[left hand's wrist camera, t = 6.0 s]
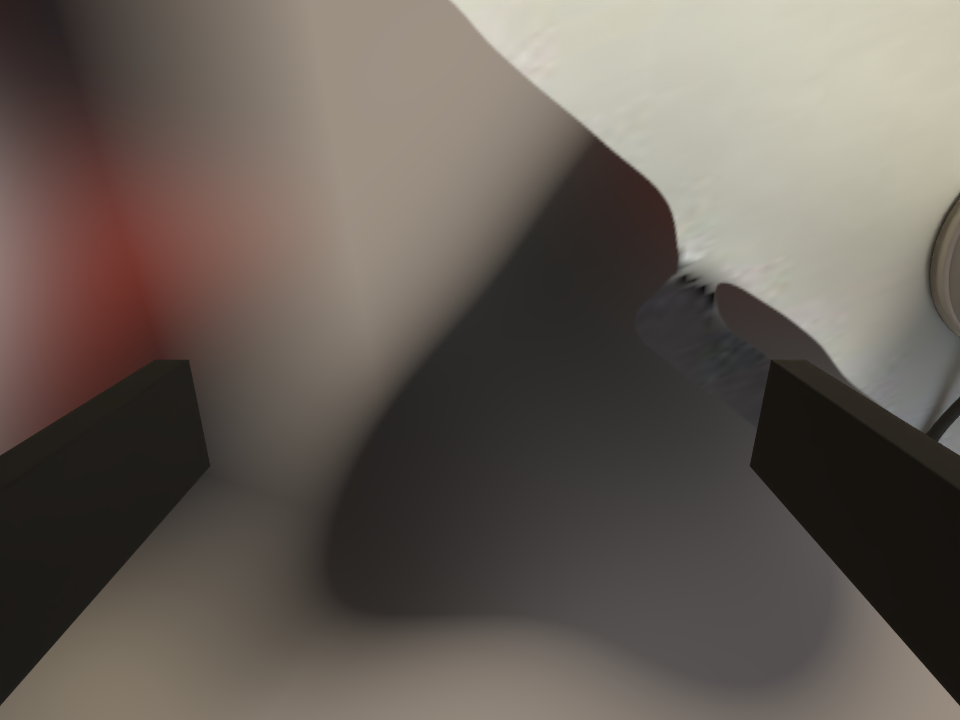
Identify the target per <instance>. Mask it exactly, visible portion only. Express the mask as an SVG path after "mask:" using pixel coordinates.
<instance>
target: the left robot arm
mask: <svg viewBox="0 0 960 720" xmlns="http://www.w3.org/2000/svg"><path fill="white" fill-rule="evenodd" d="M930 285H931V293H932V297H933V301H934V304H935V307H936V309H937V311H938V313H939V315H940V317H941V318H942V320H943V321H944V323H945V324H946V325H947V326H948V327H949V328H950V329H951V330H952V331H953V332H954V333H955V334H956V335H958V336H959V337H960V198H959V200H958V201H957V202H956V204H955V205H954V207H953V208H952V210H951V212H950V213H949V215H948V217H947V218H946V220H945V222H944V224H943V226H942V228H941V231H940V233H939V236H938V238H937V241H936V244H935V247H934V251H933V255H932V260H931V268H930ZM959 416H960V397H959V398H958V399H957V400H956V401H955V402H954V403H953V404H952V405H951V406H950V407H949V408H948V409H947V411H946V412H945V413H944V414H943V415H942V416H941V417H940V418H939V419H938V420H937V422H936V423H935V424H934V425H933V427H932V428H931V429H930V431H929V432H928V433H927V435H926V434H924V433H922V432H921V431H919V430H917V429H916V428H914V427H913V426H911V425H909V424H908V423H906V422H905V421H903V420H901V419H900V418H898V417H897V416H895V415H893V414H892V413H890V412H888V411H887V410H885V409H884V408H882V407H880V406H879V405H877V404H876V403H874V402H872V401H871V400H869V399H868V398H866V397H864V396H863V395H861V394H859V393H858V392H856V391H855V390H853V389H851V388H850V387H848V386H846V385H845V384H843V383H842V382H840V381H838V380H837V379H835V378H834V377H832V376H830V375H829V374H827V373H826V372H824V371H822V370H821V369H819V368H818V367H816V366H814V365H813V364H811V363H809V362H808V361H806V360H771V364H770V369H769V373H768V378H767V383H766V388H765V393H764V398H763V403H762V408H761V413H760V418H759V423H758V428H757V433H756V438H755V443H754V448H753V453H752V458H751V463H750V467H751V468H752V469H753V470H754V471H755V473H756V474H757V475H758V476H759V477H760V478H761V479H762V481H763V482H764V483H765V484H766V485H767V486H768V487H769V489H770V490H771V491H772V492H773V493H774V494H775V495H776V496H777V498H778V499H779V500H780V501H781V502H782V503H783V504H784V506H785V507H786V508H787V509H788V510H789V511H790V512H791V514H792V515H793V516H794V517H795V518H796V519H797V520H798V522H799V523H800V524H801V525H802V526H803V527H804V528H805V530H806V531H807V532H808V533H809V534H810V535H811V536H812V538H813V539H814V540H815V541H816V542H817V543H818V544H819V546H820V547H821V548H822V549H823V550H824V551H825V552H826V554H827V555H828V556H829V557H830V558H831V559H832V560H833V561H834V563H835V564H836V565H837V566H838V567H839V568H840V569H841V571H842V572H843V573H844V574H845V575H846V576H847V577H848V579H849V580H850V581H851V582H852V583H853V584H854V586H855V587H856V588H857V589H858V590H859V591H860V592H861V593H862V595H863V596H864V597H865V598H866V599H867V600H868V601H869V603H870V604H871V605H872V606H873V607H874V608H875V609H876V611H877V612H878V613H879V614H880V615H881V616H882V617H883V619H884V620H885V621H886V622H887V623H888V624H889V625H890V627H891V628H892V629H893V630H894V631H895V632H896V633H897V635H898V636H899V637H900V638H901V639H902V640H903V641H904V643H905V644H906V645H907V646H908V647H909V648H910V649H911V651H912V652H913V653H914V654H915V655H916V656H917V657H918V659H919V660H920V661H921V662H922V663H923V664H924V665H925V666H926V668H927V669H928V670H929V671H930V672H931V673H932V675H933V676H934V677H935V678H936V679H937V680H938V681H939V683H940V684H941V685H942V686H943V687H944V688H945V689H946V690H947V692H948V693H949V694H950V695H951V696H952V697H953V698H954V700H955V701H956V702H957V703H958V704H959V705H960V456H959V455H958V454H956V453H955V452H953V451H951V450H950V449H948V448H947V447H945V446H943V445H942V444H940V443H938V441H939V439H940V438H941V436H942V435H943V434H944V432H945V431H946V430H947V429H948V427H949V426H950V425H951V424H952V423H953V422H954V421H955V420H956V419H957V418H958V417H959ZM209 467H210V463H209V458H208V453H207V448H206V443H205V438H204V433H203V428H202V423H201V418H200V413H199V408H198V404H197V398H196V393H195V389H194V383H193V378H192V373H191V369H190V364H189V360H154V361H152V362H151V363H149V364H147V365H146V366H144V367H142V368H141V369H139V370H138V371H136V372H134V373H133V374H131V375H130V376H128V377H126V378H125V379H123V380H122V381H120V382H118V383H117V384H115V385H114V386H112V387H110V388H109V389H107V390H105V391H104V392H102V393H101V394H99V395H97V396H96V397H94V398H93V399H91V400H89V401H88V402H86V403H84V404H83V405H81V406H80V407H78V408H76V409H75V410H73V411H72V412H70V413H68V414H67V415H65V416H63V417H62V418H60V419H59V420H57V421H55V422H54V423H52V424H51V425H49V426H47V427H46V428H44V429H43V430H41V431H39V432H38V433H36V434H34V435H33V436H31V437H30V438H28V439H26V440H25V441H23V442H22V443H20V444H18V445H17V446H15V447H14V448H12V449H10V450H9V451H7V452H5V453H4V454H2V455H1V456H0V705H1V704H2V703H3V702H4V701H5V700H6V698H7V697H8V696H9V695H10V694H11V693H12V692H13V690H14V689H15V688H16V687H17V686H18V685H19V684H20V683H21V681H22V680H23V679H24V678H25V677H26V676H27V674H28V673H29V672H30V671H31V670H32V669H33V668H34V667H35V665H36V664H37V663H38V662H39V661H40V660H41V658H42V657H43V656H44V655H45V654H46V653H47V652H48V651H49V649H50V648H51V647H52V646H53V645H54V644H55V643H56V641H57V640H58V639H59V638H60V637H61V636H62V635H63V633H64V632H65V631H66V630H67V629H68V628H69V627H70V625H71V624H72V623H73V622H74V621H75V620H76V619H77V617H78V616H79V615H80V614H81V613H82V612H83V611H84V609H85V608H86V607H87V606H88V605H89V604H90V603H91V601H92V600H93V599H94V598H95V597H96V596H97V595H98V593H99V592H100V591H101V590H102V589H103V588H104V587H105V585H106V584H107V583H108V582H109V581H110V580H111V579H112V577H113V576H114V575H115V574H116V573H117V572H118V571H119V569H120V568H121V567H122V566H123V565H124V564H125V563H126V562H127V560H128V559H129V558H130V557H131V556H132V555H133V554H134V552H135V551H136V550H137V549H138V548H139V547H140V545H141V544H142V543H143V542H144V541H145V540H146V539H147V538H148V536H149V535H150V534H151V533H152V532H153V531H154V530H155V528H156V527H157V526H158V525H159V524H160V523H161V522H162V520H163V519H164V518H165V517H166V516H167V515H168V514H169V512H170V511H171V510H172V509H173V508H174V507H175V506H176V504H177V503H178V502H179V501H180V500H181V499H182V498H183V496H184V495H185V494H186V493H187V492H188V491H189V490H190V488H191V487H192V486H193V485H194V484H195V483H196V482H197V480H198V479H199V478H200V477H201V476H202V475H203V474H204V473H205V471H206V470H207V469H208V468H209Z"/></svg>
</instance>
